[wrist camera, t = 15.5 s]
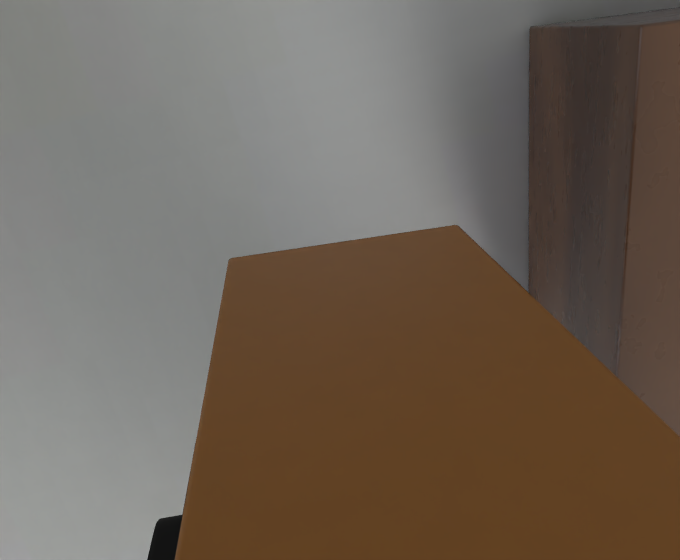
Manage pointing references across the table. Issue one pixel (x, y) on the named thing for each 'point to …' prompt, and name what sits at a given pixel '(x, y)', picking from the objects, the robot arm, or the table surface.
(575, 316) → the walnut box
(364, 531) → the container
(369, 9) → the table surface
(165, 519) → the robot arm
